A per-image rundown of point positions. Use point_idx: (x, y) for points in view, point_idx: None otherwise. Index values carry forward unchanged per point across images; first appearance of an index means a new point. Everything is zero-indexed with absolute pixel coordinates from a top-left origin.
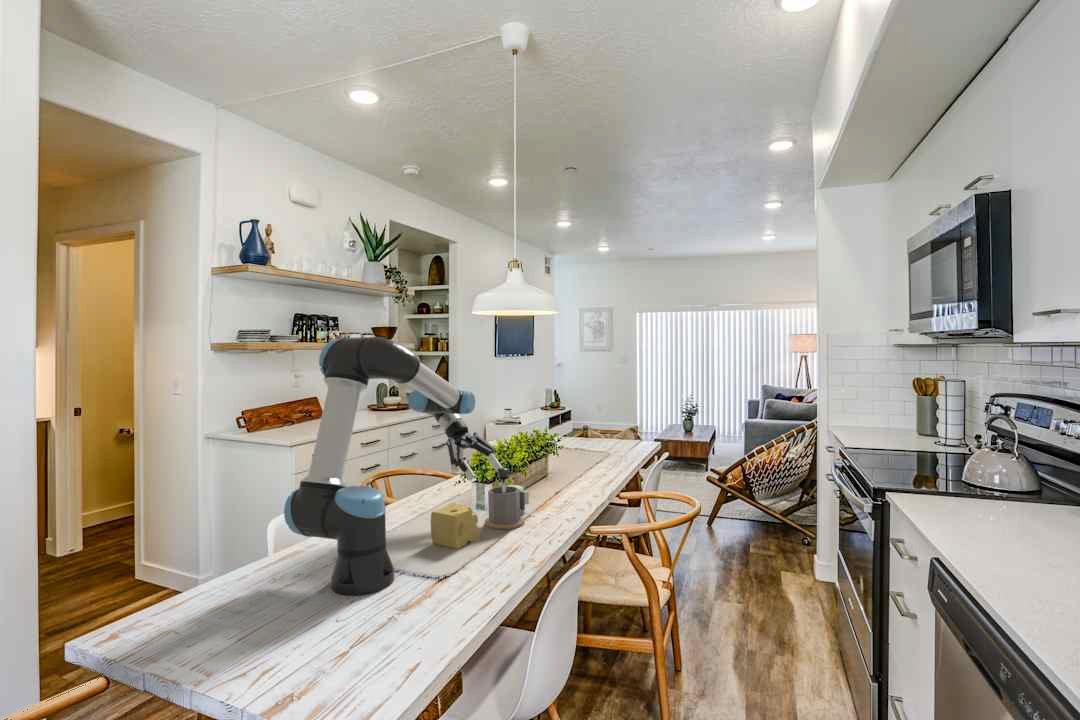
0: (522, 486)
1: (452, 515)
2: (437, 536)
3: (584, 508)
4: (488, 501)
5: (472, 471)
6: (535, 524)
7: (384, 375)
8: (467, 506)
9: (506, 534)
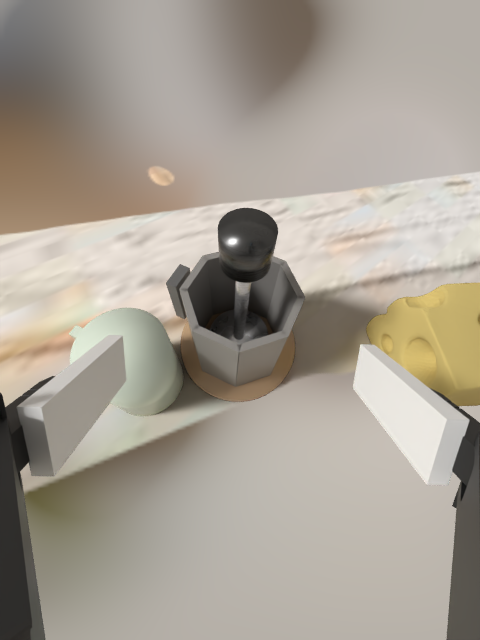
0: (85, 326)
1: None
2: None
3: (40, 246)
4: (280, 352)
5: (379, 356)
6: None
7: None
8: (430, 316)
9: None
